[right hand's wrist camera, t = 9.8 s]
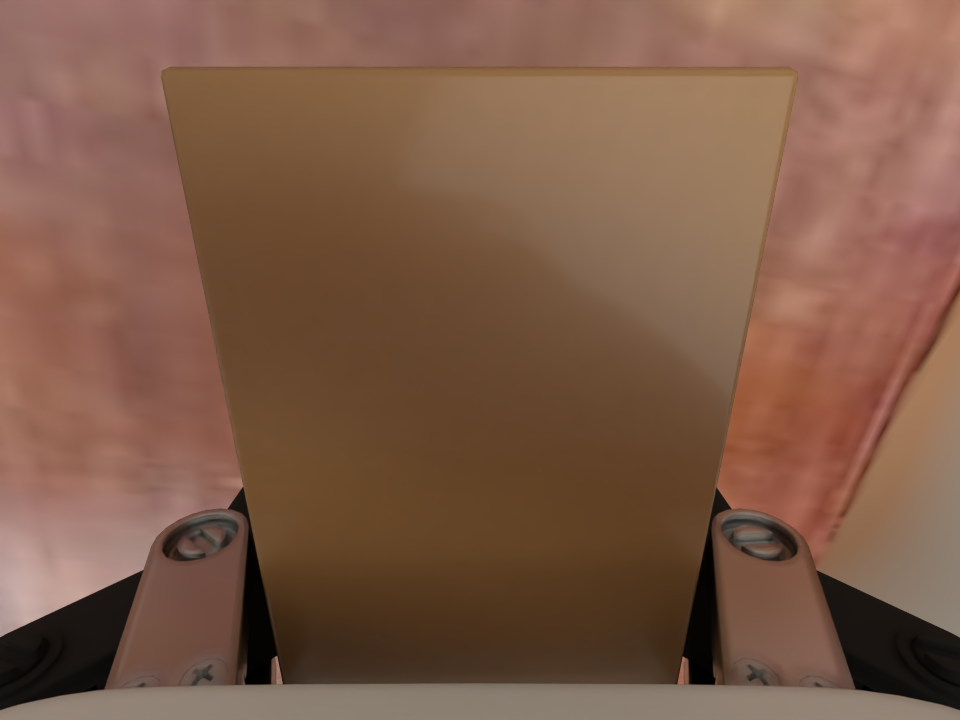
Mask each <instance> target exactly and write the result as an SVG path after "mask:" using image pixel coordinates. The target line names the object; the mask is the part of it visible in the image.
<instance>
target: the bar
mask: <svg viewBox="0 0 960 720" xmlns="http://www.w3.org/2000/svg"><path fill="white" fill-rule="evenodd" d="M161 79H162V84H163V89H164V94H165V99H166V104H167V109H168V114H169V119H170V124H171V128H172V133H173V138H174V143H175V148H176V153H177V158H178V163H179V168H180V173H181V178H182V183H183V188H184V193H185V198H186V203H187V208H188V213H189V218H190V223H191V228H192V233H193V238H194V243H195V248H196V253H197V258H198V263H199V268H200V273H201V278H202V283H203V288H204V293H205V298H206V303H207V308H208V313H209V318H210V323H211V328H212V333H213V338H214V343H215V348H216V353H217V358H218V363H219V368H220V373H221V378H222V383H223V387H224V392H225V397H226V402H227V407H228V412H229V417H230V422H231V427H232V432H233V437H234V442H235V447H236V452H237V457H238V462H239V467H240V472H241V477H242V482H243V487H244V492H245V497H246V502H247V507H248V512H249V517H250V522H251V527H252V532H253V537H254V542H255V547H256V552H257V557H258V562H259V567H260V572H261V577H262V582H263V587H264V592H265V597H266V602H267V607H268V612H269V617H270V622H271V627H272V632H273V637H274V642H275V646H276V651H277V656H278V661H279V666H280V671H281V676H282V681H283V684H462V683H498V684H677V682H678V677H679V672H680V667H681V662H682V657H683V652H684V647H685V642H686V637H687V632H688V627H689V622H690V617H691V612H692V607H693V602H694V597H695V592H696V587H697V582H698V577H699V572H700V567H701V562H702V557H703V552H704V547H705V542H706V537H707V532H708V527H709V522H710V517H711V512H712V507H713V502H714V497H715V492H716V487H717V482H718V477H719V472H720V467H721V462H722V457H723V452H724V447H725V442H726V436H727V431H728V426H729V421H730V416H731V411H732V406H733V401H734V396H735V391H736V386H737V381H738V376H739V371H740V366H741V361H742V356H743V351H744V346H745V341H746V336H747V331H748V326H749V321H750V316H751V311H752V306H753V301H754V296H755V291H756V286H757V281H758V276H759V271H760V266H761V261H762V256H763V251H764V246H765V241H766V236H767V231H768V226H769V221H770V216H771V211H772V206H773V201H774V196H775V191H776V186H777V181H778V176H779V171H780V166H781V161H782V156H783V151H784V146H785V141H786V136H787V131H788V126H789V121H790V116H791V111H792V106H793V101H794V96H795V91H796V85H797V80H798V73H797V71H796V70H794V69H792V68H790V67H169V68H167V69H165V70H163V71H162V76H161Z"/></svg>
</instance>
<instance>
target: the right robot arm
mask: <svg viewBox="0 0 960 720" xmlns="http://www.w3.org/2000/svg"><path fill="white" fill-rule="evenodd" d="M276 656H277V651H276V646H275V642H274V637H273V632H272V627H271V622H270V617H269V612H268V607H267V602H266V597H265V592H264V587H263V582H262V577H261V572H260V567H259V562H258V557H257V552H256V547H255V542H254V537H253V532H252V527H251V522H250V517H249V512H248V507H247V502H246V497H245V492H244V487H243V488H242V489H241V490H240V492H239V493H238V495H237V496H236V498H235V499H234V501H233V502H232V503H231V505H230V506H229V508H228V509H212V510H205V511H201V512H198V513H194V514H191V515H189V516H186V517H184V518H182V519H180V520H178V521H176V522H175V523H173V524H171V525H170V526H168V527H167V528H166V529H164V530H163V531H162V532H161V533H160V534H159V535H158V536H157V537H156V539H155V541H154V543H153V544H152V546H151V549H150V552H149V555H148V558H147V561H146V564H145V567H144V570H142V571H140V572H138V573H136V574H134V575H132V576H129V577H127V578H125V579H123V580H121V581H119V582H117V583H114V584H112V585H110V586H108V587H106V588H104V589H102V590H99V591H97V592H95V593H93V594H91V595H89V596H87V597H84V598H82V599H80V600H78V601H76V602H74V603H72V604H69V605H67V606H65V607H63V608H61V609H59V610H57V611H55V612H52V613H50V614H48V615H46V616H44V617H42V618H40V619H37V620H35V621H33V622H31V623H29V624H27V625H25V626H22V627H20V628H18V629H16V630H14V631H12V632H10V633H7V634H6V635H4V636H2V637H0V720H960V638H959V637H958V636H956V635H954V634H952V633H950V632H948V631H946V630H944V629H941V628H939V627H937V626H935V625H933V624H931V623H929V622H926V621H924V620H922V619H920V618H918V617H916V616H914V615H911V614H909V613H907V612H905V611H903V610H901V609H898V608H896V607H894V606H892V605H890V604H888V603H886V602H884V601H881V600H879V599H877V598H875V597H873V596H871V595H868V594H866V593H864V592H862V591H860V590H858V589H856V588H853V587H851V586H849V585H847V584H845V583H843V582H841V581H838V580H836V579H834V578H832V577H830V576H828V575H826V574H823V573H821V572H819V571H817V570H816V567H815V564H814V561H813V558H812V555H811V552H810V549H809V546H808V544H807V543H806V541H805V539H804V537H803V536H802V535H801V534H800V533H799V532H798V531H797V530H796V529H794V528H793V527H792V526H790V525H789V524H787V523H785V522H784V521H782V520H780V519H778V518H776V517H774V516H771V515H769V514H766V513H762V512H759V511H755V510H748V509H731V508H730V506H729V505H728V503H727V502H726V500H725V499H724V498H723V496H722V495H721V493H720V492H719V490H718V489H717V487H716V492H715V497H714V502H713V507H712V512H711V517H710V522H709V527H708V532H707V537H706V542H705V547H704V552H703V557H702V562H701V567H700V572H699V577H698V582H697V587H696V592H695V597H694V602H693V607H692V612H691V617H690V622H689V627H688V632H687V637H686V642H685V647H684V652H683V657H685V661H684V685H678V684H498V683H462V684H282V685H276V661H275V657H276Z"/></svg>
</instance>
